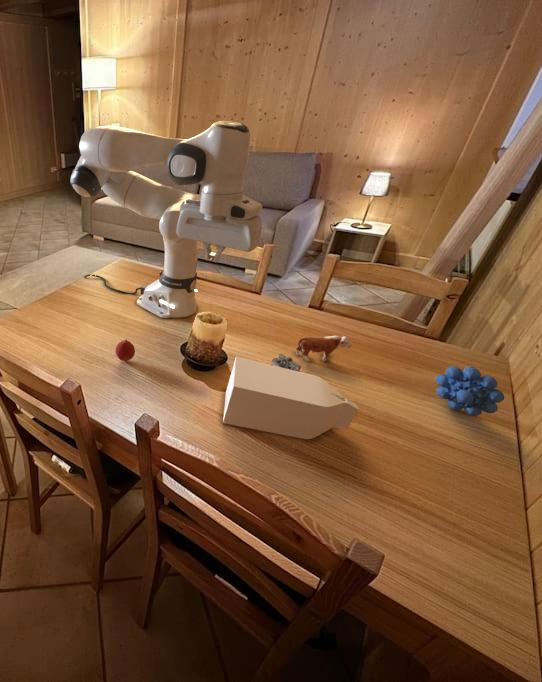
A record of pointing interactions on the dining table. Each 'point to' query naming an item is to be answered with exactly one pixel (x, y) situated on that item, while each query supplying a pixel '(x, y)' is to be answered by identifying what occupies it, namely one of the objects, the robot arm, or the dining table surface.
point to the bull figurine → (321, 345)
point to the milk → (283, 401)
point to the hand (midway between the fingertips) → (212, 260)
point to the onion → (125, 350)
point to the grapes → (469, 390)
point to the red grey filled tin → (286, 363)
